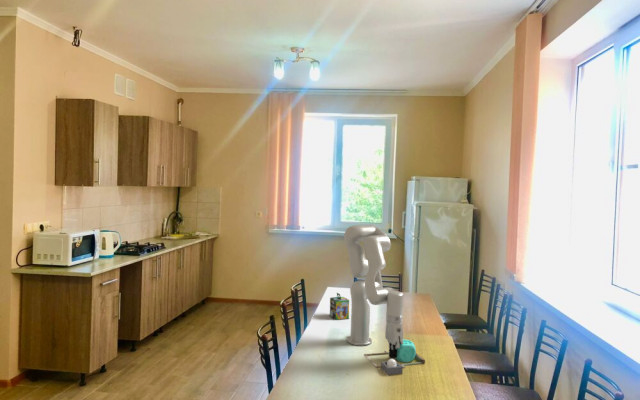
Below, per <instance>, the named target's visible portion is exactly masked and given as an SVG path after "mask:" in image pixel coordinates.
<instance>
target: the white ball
mask: <svg viewBox="0 0 640 400" xmlns="http://www.w3.org/2000/svg"><path fill="white" fill-rule="evenodd" d="M395 360H396V359H395V358H390V359H388V360H387V361H388V362H387V366H388V367H395V366H397V364H396V361H397V360H396V361H395Z"/></svg>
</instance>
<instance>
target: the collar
mask: <svg viewBox="0 0 640 400" xmlns="http://www.w3.org/2000/svg"><path fill="white" fill-rule="evenodd" d="M394 360H395V361H396V364H397V366H395V367H388V366H387V362H388V360H386V361H385V360H384V361H381V362H380V366H381V368H380V369H381V371H383V372H384V374H386V375H387V376H391V375H392V376H393V375H402V374H403V369H404V368H403V367H402V366H401V365H400V364H401V363H399V362H398V360H396V359H394Z"/></svg>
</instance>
